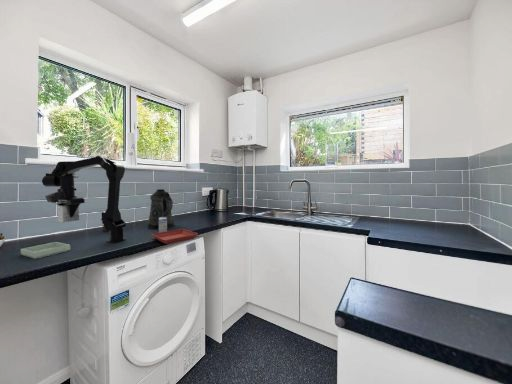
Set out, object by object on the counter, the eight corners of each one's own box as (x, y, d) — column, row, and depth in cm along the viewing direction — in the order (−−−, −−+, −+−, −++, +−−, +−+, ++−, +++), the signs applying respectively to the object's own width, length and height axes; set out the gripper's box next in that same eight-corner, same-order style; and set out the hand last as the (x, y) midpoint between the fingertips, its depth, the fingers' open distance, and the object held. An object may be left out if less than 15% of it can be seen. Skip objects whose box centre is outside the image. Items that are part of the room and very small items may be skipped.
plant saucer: (150, 239, 120) (150, 233, 120) (182, 233, 132) (182, 228, 132) (164, 246, 107) (164, 239, 107) (198, 239, 119) (198, 233, 119)
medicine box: (158, 231, 137) (158, 217, 136) (166, 230, 138) (166, 216, 138) (158, 234, 129) (158, 219, 129) (167, 233, 131) (166, 219, 131)
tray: (70, 250, 100) (70, 244, 100) (35, 259, 89) (34, 252, 89) (55, 247, 105) (55, 241, 105) (20, 254, 94) (20, 249, 94)
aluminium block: (79, 220, 118) (78, 204, 118) (63, 222, 112) (62, 206, 111) (74, 219, 120) (73, 204, 120) (58, 221, 114) (57, 205, 113)
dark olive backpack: (156, 223, 161) (155, 188, 160) (182, 224, 158) (181, 189, 157) (141, 228, 145) (140, 189, 143) (170, 229, 142) (169, 190, 141)
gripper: (37, 186, 112) (39, 218, 112) (57, 187, 104) (59, 220, 105) (64, 186, 122) (66, 214, 123) (84, 186, 114) (86, 217, 115)
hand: (68, 216), depth 116 cm, fingers closed on aluminium block, 4 cm apart
